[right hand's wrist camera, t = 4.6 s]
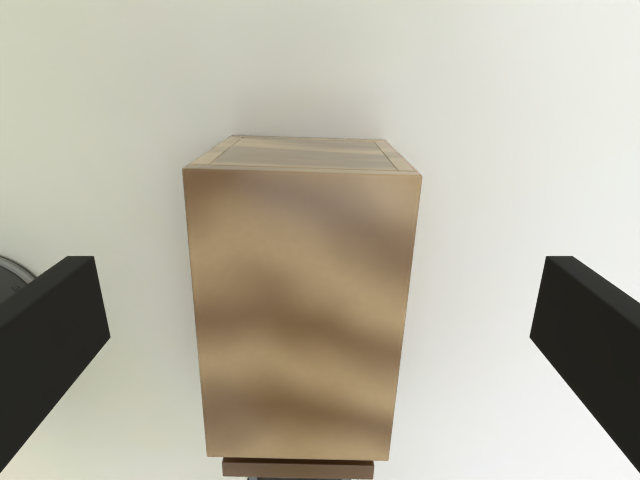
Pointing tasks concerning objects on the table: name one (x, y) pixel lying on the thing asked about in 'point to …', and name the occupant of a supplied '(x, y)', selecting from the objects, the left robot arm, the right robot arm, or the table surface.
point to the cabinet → (300, 293)
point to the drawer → (297, 469)
